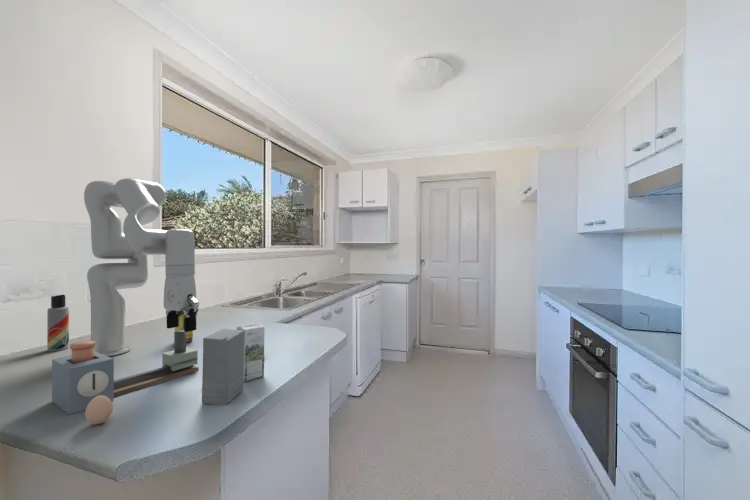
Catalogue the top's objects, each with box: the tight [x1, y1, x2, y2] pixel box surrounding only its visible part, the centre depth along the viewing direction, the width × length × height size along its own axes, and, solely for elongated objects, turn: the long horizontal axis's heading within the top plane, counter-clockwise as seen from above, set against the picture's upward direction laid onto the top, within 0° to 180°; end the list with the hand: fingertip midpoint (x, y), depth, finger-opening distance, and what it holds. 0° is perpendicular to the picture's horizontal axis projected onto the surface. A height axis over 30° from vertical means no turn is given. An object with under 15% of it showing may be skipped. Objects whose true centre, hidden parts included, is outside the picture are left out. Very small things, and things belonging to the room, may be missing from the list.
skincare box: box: [201, 328, 245, 406], centre depth 81 cm, size 8×7×16 cm
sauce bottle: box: [174, 310, 194, 344], centre depth 131 cm, size 7×6×20 cm
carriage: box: [161, 330, 199, 371], centre depth 98 cm, size 6×7×10 cm
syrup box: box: [236, 323, 265, 383], centre depth 94 cm, size 6×6×14 cm
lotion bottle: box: [46, 294, 70, 352], centre depth 122 cm, size 6×6×20 cm
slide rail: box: [114, 365, 199, 397], centre depth 92 cm, size 7×21×3 cm, turn 148°
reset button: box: [69, 340, 96, 364], centre depth 79 cm, size 5×5×5 cm
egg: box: [84, 395, 114, 425], centre depth 69 cm, size 4×4×6 cm
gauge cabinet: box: [51, 351, 115, 415], centre depth 79 cm, size 13×8×10 cm, turn 58°
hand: (181, 329), depth 98 cm, fingers open, 9 cm apart
